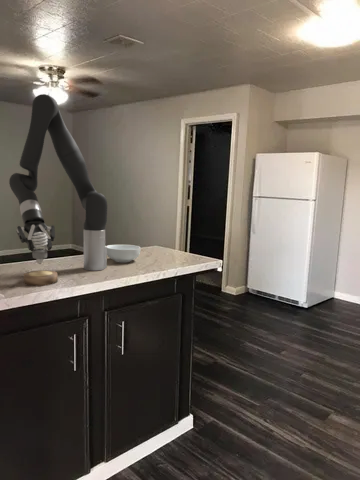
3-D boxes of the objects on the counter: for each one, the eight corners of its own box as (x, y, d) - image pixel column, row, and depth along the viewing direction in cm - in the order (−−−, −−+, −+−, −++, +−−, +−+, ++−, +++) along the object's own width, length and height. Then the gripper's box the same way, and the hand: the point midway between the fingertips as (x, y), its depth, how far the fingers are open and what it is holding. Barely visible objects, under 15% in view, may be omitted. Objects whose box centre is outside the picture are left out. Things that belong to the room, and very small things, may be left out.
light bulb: (49, 262, 149) (49, 231, 148) (45, 265, 144) (45, 233, 142) (34, 262, 149) (34, 230, 147) (29, 265, 144) (29, 232, 142)
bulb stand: (42, 276, 156) (42, 268, 155) (64, 281, 150) (64, 272, 149) (16, 282, 145) (16, 274, 145) (38, 287, 139) (38, 278, 139)
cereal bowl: (144, 263, 186) (144, 249, 185) (109, 265, 180) (109, 250, 179) (135, 257, 202) (135, 243, 201) (102, 258, 195) (102, 244, 194)
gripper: (13, 208, 145) (22, 244, 137) (52, 208, 154) (63, 242, 146) (10, 220, 150) (19, 257, 143) (48, 220, 159) (58, 254, 151)
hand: (41, 249), depth 144 cm, fingers closed on light bulb, 5 cm apart
